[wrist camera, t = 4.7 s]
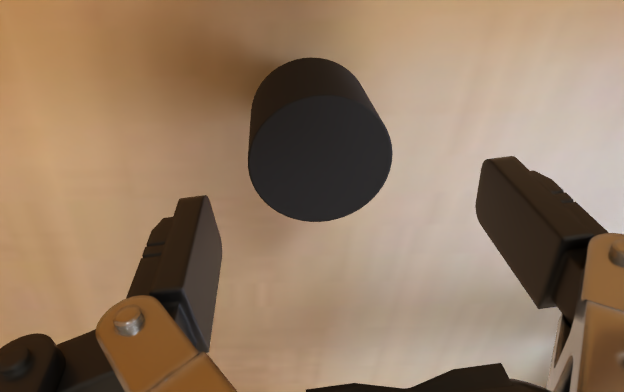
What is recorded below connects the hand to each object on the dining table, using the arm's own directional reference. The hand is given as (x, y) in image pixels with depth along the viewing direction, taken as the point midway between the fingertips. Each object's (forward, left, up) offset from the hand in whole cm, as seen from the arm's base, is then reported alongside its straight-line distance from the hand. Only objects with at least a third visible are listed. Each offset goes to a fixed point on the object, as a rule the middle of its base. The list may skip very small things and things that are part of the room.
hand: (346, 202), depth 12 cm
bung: (-1, 0, -8) cm, 8 cm away
